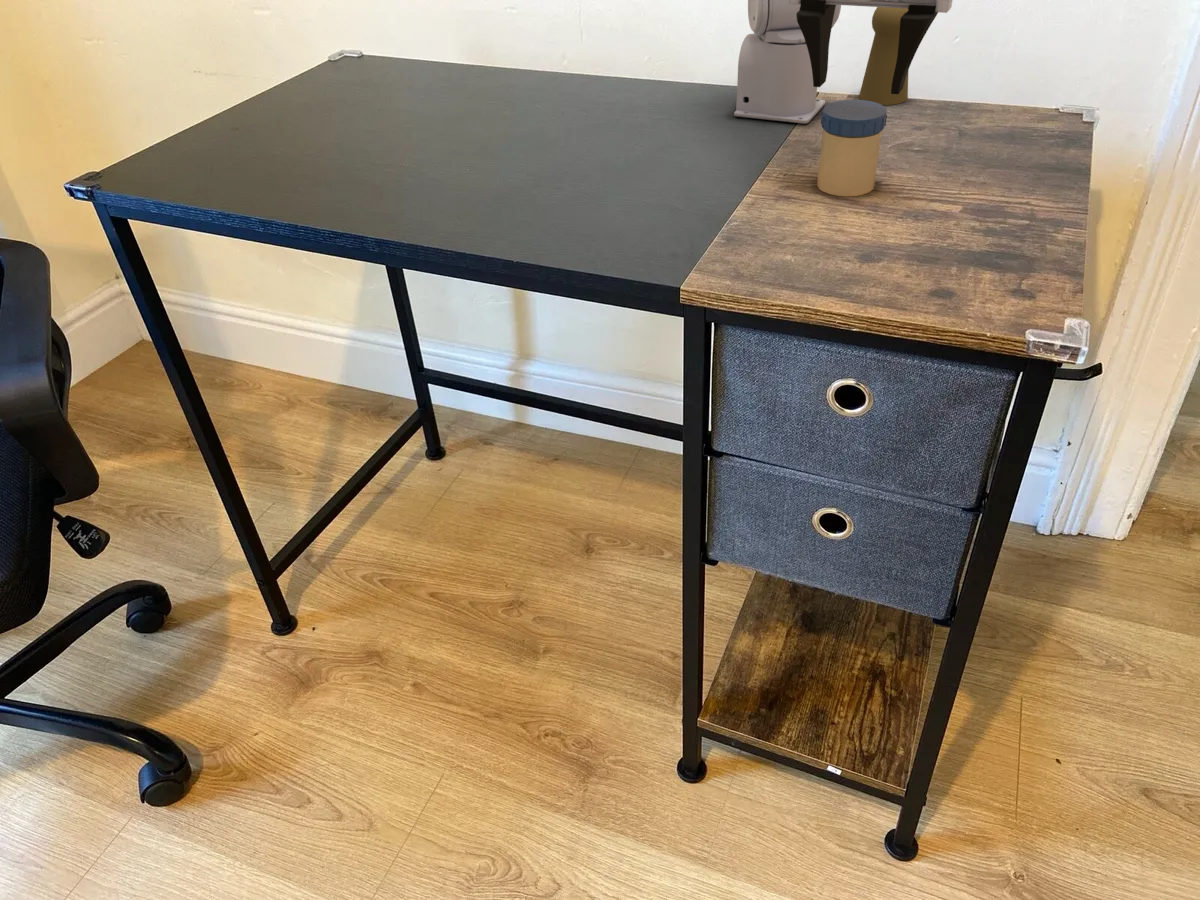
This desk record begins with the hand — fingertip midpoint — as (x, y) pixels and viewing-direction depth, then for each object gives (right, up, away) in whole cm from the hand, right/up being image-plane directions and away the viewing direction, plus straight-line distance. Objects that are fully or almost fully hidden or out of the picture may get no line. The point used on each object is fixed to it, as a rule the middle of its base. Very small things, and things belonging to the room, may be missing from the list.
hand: (857, 87), depth 86 cm
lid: (0, -2, +1) cm, 2 cm away
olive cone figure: (+11, +10, +27) cm, 31 cm away
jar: (+1, -8, +6) cm, 10 cm away
